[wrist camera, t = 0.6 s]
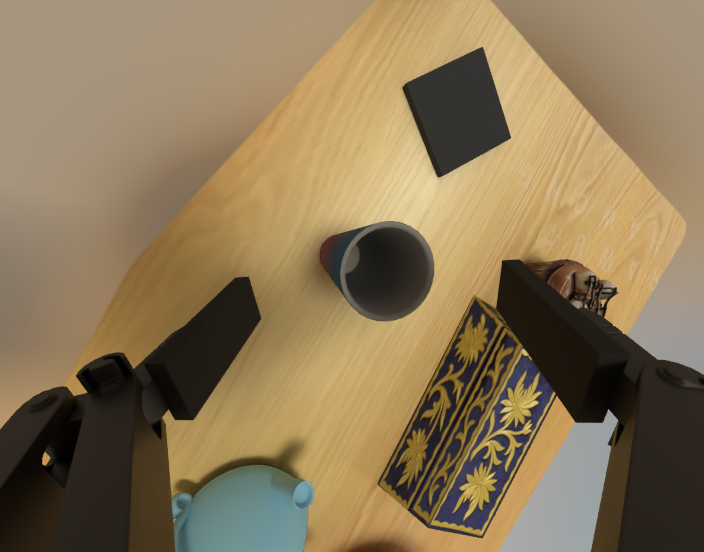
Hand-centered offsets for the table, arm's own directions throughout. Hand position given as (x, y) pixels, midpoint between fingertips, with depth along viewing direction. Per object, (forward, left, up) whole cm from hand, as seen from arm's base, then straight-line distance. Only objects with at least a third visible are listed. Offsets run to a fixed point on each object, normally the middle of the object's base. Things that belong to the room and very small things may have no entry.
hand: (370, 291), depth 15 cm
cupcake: (+19, +25, -19) cm, 37 cm away
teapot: (+23, -23, -19) cm, 37 cm away
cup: (+1, +2, -19) cm, 19 cm away
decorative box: (+28, +7, -19) cm, 34 cm away
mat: (-7, +23, -19) cm, 31 cm away
